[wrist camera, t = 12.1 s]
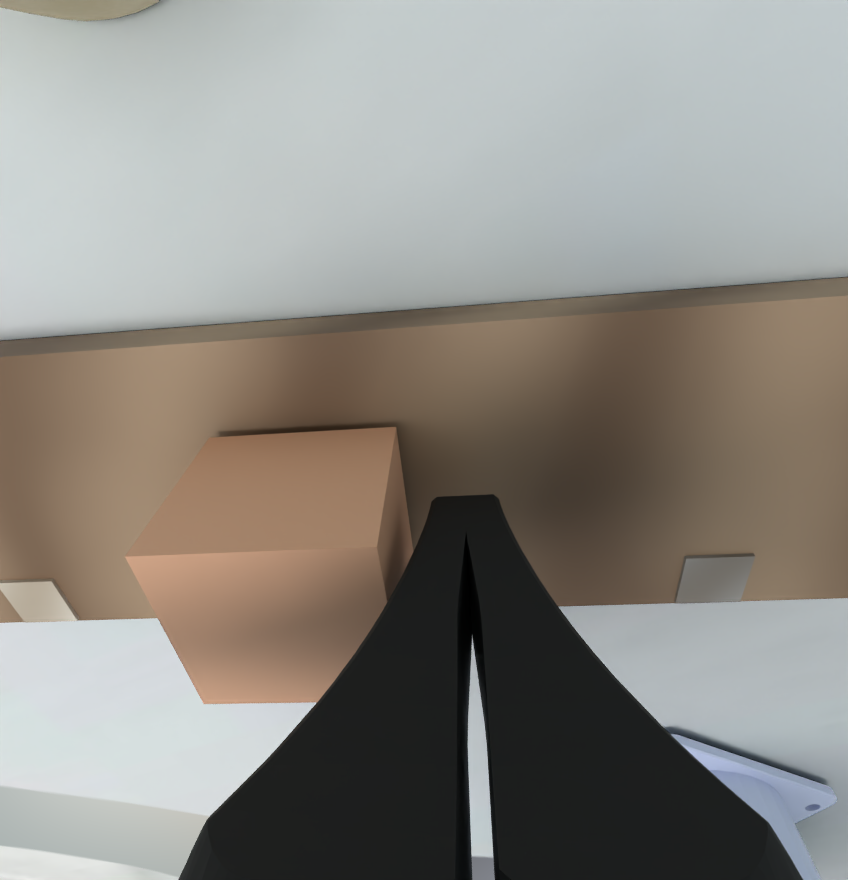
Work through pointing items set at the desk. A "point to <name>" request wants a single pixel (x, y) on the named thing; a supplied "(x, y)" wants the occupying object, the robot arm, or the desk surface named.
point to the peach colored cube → (276, 559)
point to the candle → (79, 8)
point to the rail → (465, 437)
